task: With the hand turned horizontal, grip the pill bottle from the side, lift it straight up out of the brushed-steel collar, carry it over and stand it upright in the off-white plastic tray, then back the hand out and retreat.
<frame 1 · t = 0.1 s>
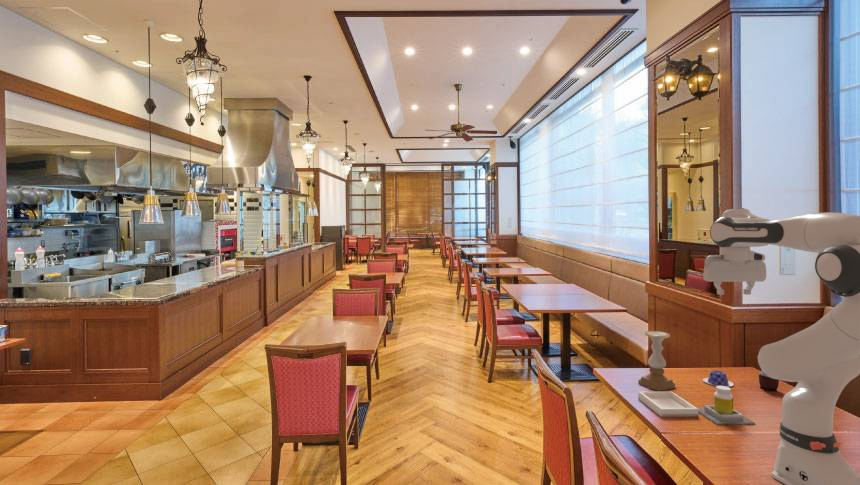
hand: (733, 294, 156), 48 cm above the table, tool pointing down, fingers open, 8 cm apart
tray: (666, 407, 177), on the table
steel collar: (723, 416, 168), on the table
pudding: (718, 384, 204), on the table
candle holder: (656, 386, 201), on the table
pill bottle: (723, 417, 168), resting in steel collar
mate gourd: (767, 390, 195), on the table
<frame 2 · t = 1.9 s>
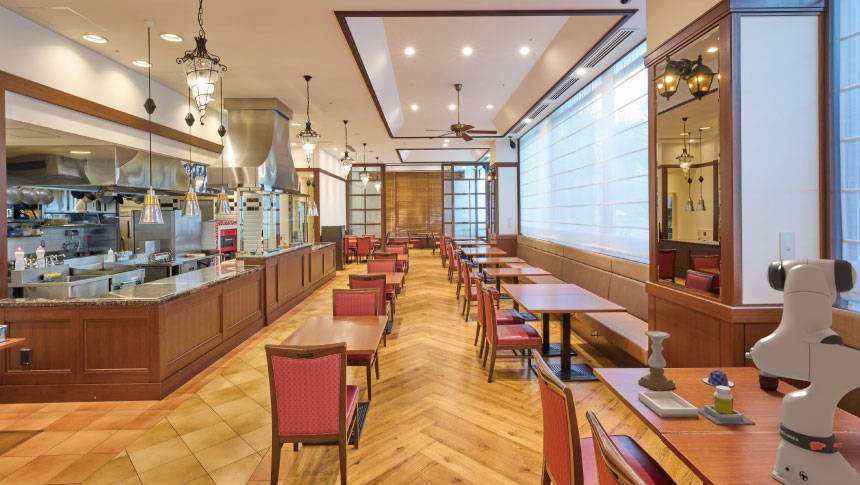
hand: (755, 359, 167), 22 cm above the table, tool horizontal, fingers open, 8 cm apart
nothing on the table moved.
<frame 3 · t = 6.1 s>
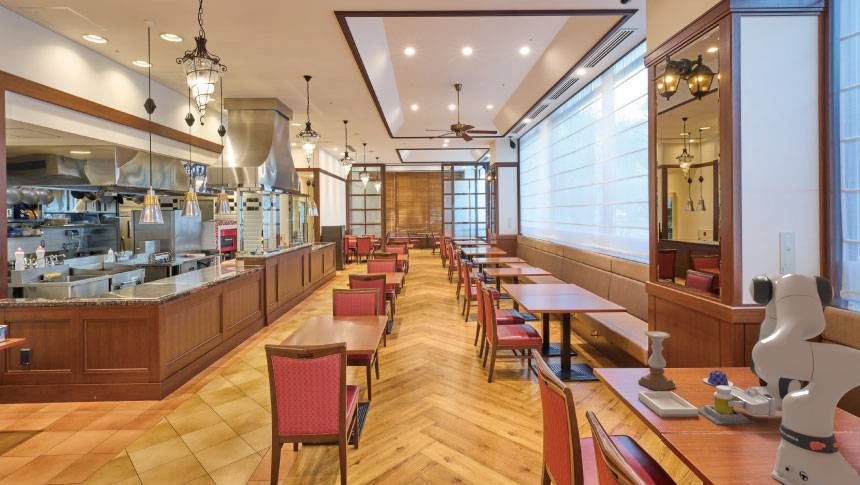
hand: (721, 399, 168), 7 cm above the table, tool horizontal, fingers closed on pill bottle, 6 cm apart
pill bottle: (723, 417, 168), resting in steel collar, touching gripper
everything else where it was.
when the fingers open (9 cm above the table, at t = 12.2 s): pill bottle drops 1 cm, resting on tray.
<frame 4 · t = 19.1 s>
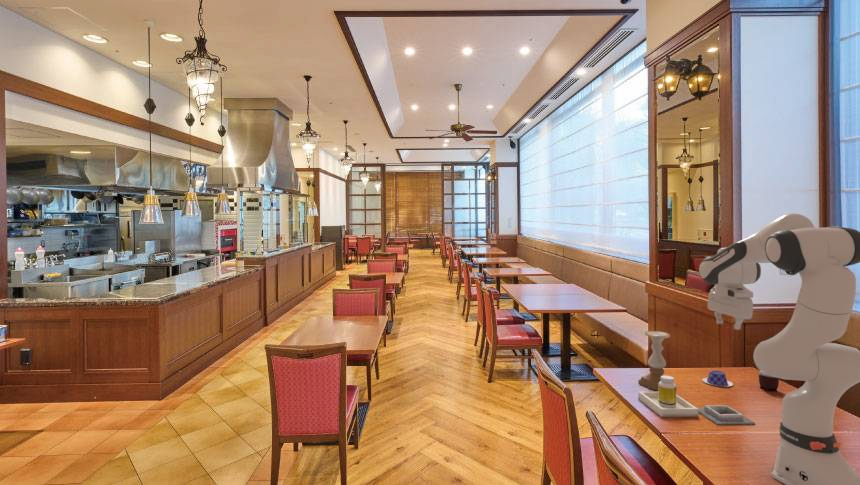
hand: (728, 326, 168), 34 cm above the table, tool pointing down, fingers open, 8 cm apart
pill bottle: (666, 405, 177), point 1 cm above the table, touching tray
at the end: pill bottle inside the target area on the tray (0.1 cm from its centre), point 0.8 cm above the tray's base; pill bottle tilted 0°; the gripper is holding nothing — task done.
